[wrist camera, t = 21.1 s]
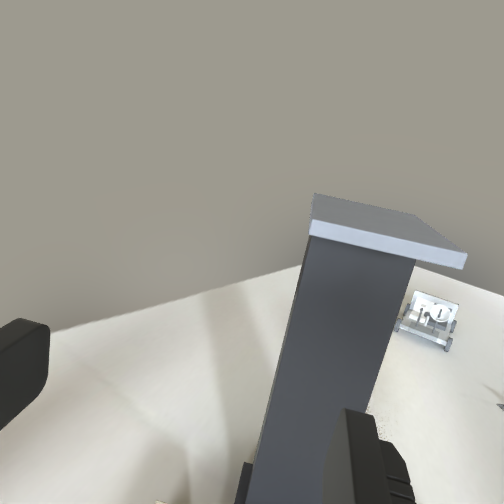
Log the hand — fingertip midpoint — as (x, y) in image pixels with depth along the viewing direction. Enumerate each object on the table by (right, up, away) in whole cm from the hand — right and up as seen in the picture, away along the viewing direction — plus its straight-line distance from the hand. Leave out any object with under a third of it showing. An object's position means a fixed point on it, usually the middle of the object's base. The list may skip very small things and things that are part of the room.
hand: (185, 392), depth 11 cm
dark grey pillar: (+5, -24, +28) cm, 37 cm away
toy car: (+41, -15, +81) cm, 92 cm away
